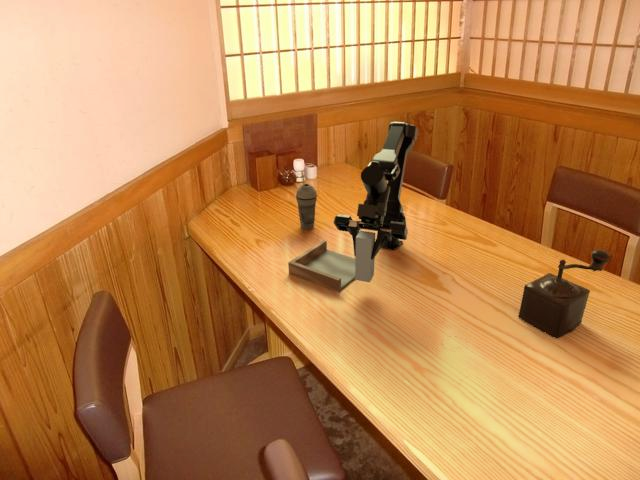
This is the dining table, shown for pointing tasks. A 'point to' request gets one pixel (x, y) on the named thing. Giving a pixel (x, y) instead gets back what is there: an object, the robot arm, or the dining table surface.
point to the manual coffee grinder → (558, 299)
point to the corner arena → (324, 267)
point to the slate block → (364, 256)
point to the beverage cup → (306, 205)
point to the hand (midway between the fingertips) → (363, 257)
